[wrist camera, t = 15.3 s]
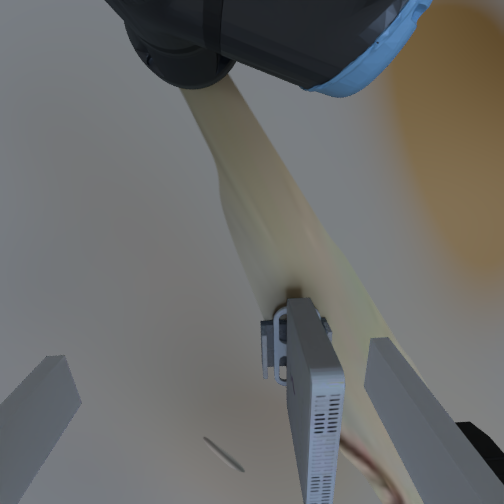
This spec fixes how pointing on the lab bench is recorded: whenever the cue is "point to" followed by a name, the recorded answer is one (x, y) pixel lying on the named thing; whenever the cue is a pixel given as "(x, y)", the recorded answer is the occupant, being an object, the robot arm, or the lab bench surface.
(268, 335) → the bracket
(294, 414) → the network device
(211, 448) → the lab bench surface
